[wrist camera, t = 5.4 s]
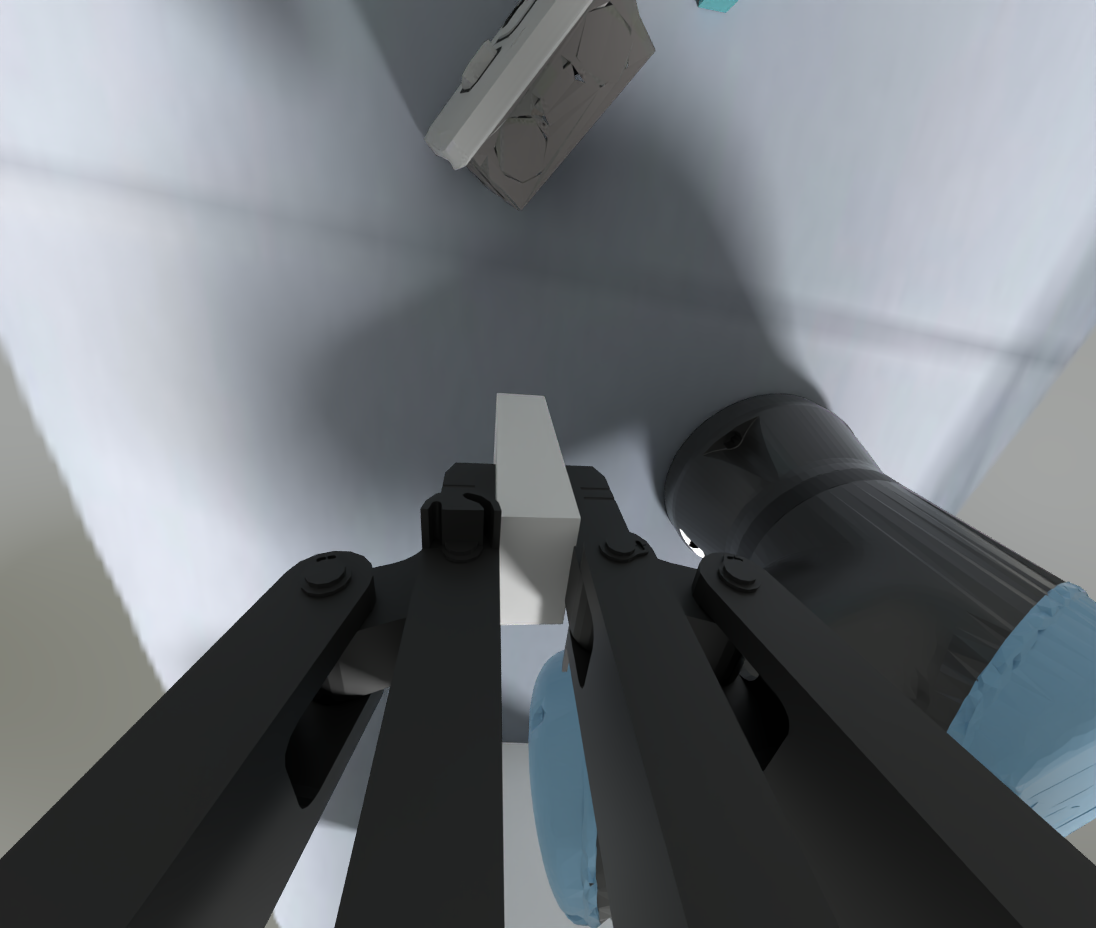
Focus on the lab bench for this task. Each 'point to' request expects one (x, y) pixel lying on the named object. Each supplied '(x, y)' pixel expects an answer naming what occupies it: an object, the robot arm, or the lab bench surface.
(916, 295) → the lab bench surface
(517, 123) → the electrical switch
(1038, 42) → the lab bench surface
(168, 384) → the lab bench surface
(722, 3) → the teal bay
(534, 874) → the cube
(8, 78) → the lab bench surface
